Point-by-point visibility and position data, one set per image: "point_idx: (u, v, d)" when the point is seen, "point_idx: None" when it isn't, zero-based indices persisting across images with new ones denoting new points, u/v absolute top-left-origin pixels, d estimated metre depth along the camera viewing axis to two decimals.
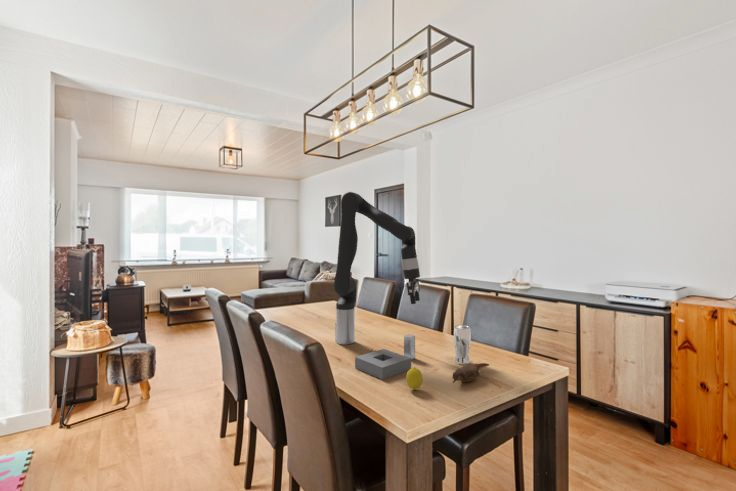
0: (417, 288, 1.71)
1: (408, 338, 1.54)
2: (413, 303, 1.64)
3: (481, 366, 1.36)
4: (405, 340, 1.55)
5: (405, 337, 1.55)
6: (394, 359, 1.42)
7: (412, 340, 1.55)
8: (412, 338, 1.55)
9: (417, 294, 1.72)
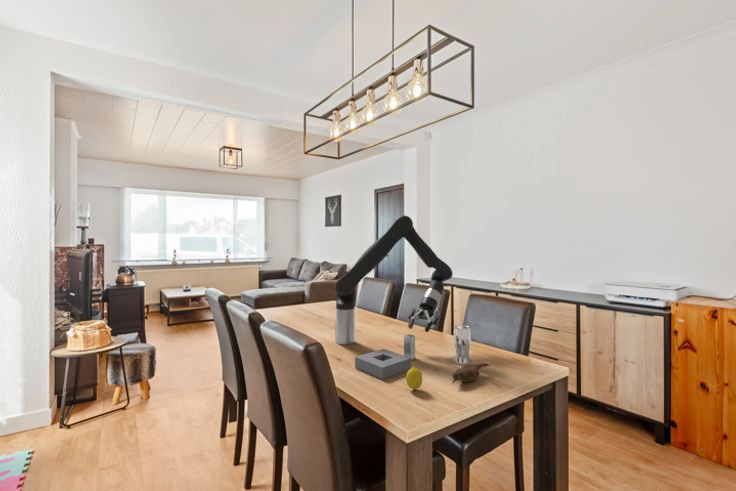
0: (418, 319, 1.67)
1: (408, 338, 1.54)
2: (426, 330, 1.59)
3: (481, 366, 1.36)
4: (405, 340, 1.55)
5: (405, 337, 1.55)
6: (394, 359, 1.42)
7: (412, 340, 1.55)
8: (412, 338, 1.55)
9: (413, 323, 1.66)
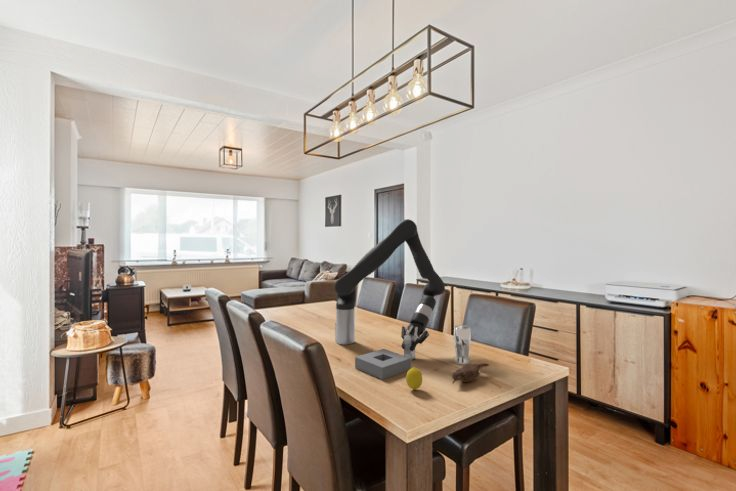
0: None
1: (408, 338, 1.54)
2: (411, 350, 1.53)
3: (481, 366, 1.36)
4: (405, 340, 1.55)
5: (405, 337, 1.55)
6: (394, 359, 1.42)
7: (412, 340, 1.55)
8: (412, 338, 1.55)
9: None
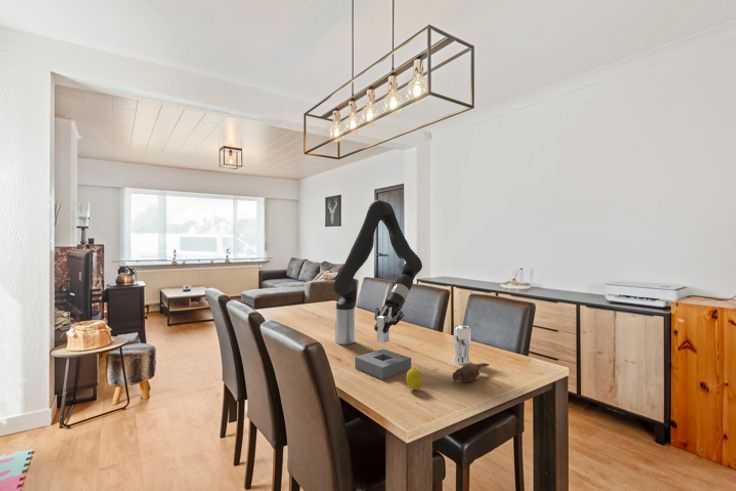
0: None
1: (381, 319, 1.42)
2: (384, 331, 1.41)
3: (481, 366, 1.36)
4: (378, 321, 1.43)
5: (378, 318, 1.43)
6: (394, 359, 1.42)
7: (385, 321, 1.43)
8: (385, 319, 1.43)
9: None
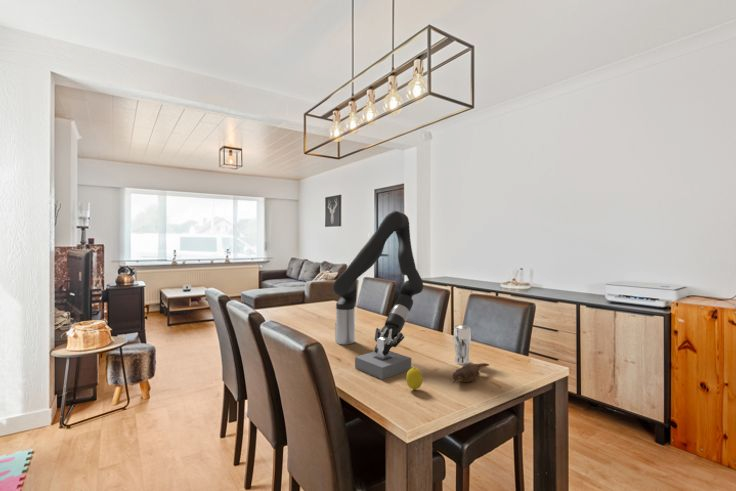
0: None
1: (381, 341, 1.42)
2: (385, 354, 1.41)
3: (481, 366, 1.36)
4: (378, 343, 1.43)
5: (378, 340, 1.43)
6: (394, 359, 1.42)
7: (385, 343, 1.43)
8: (385, 341, 1.43)
9: None
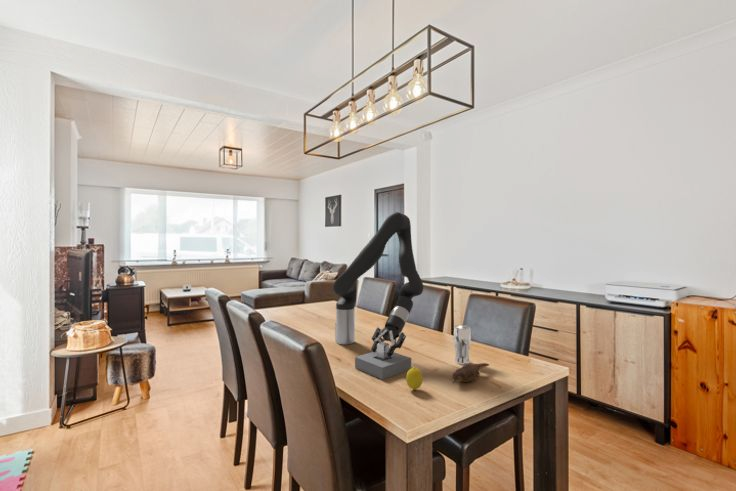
0: (383, 340, 1.49)
1: (381, 347, 1.42)
2: (389, 355, 1.41)
3: (481, 366, 1.36)
4: (378, 349, 1.43)
5: (378, 345, 1.43)
6: (394, 359, 1.42)
7: (385, 349, 1.43)
8: (385, 347, 1.43)
9: None
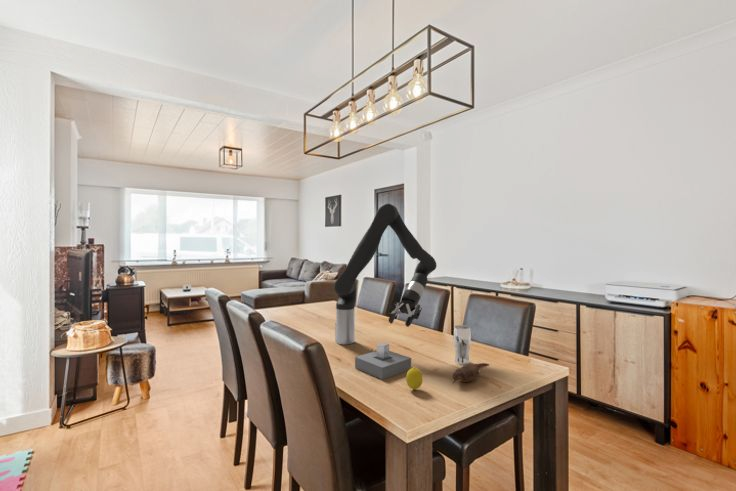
0: (399, 313, 1.58)
1: (381, 347, 1.42)
2: (407, 325, 1.50)
3: (481, 366, 1.36)
4: (378, 349, 1.43)
5: (378, 345, 1.43)
6: (394, 359, 1.42)
7: (385, 349, 1.43)
8: (385, 347, 1.43)
9: (394, 317, 1.57)
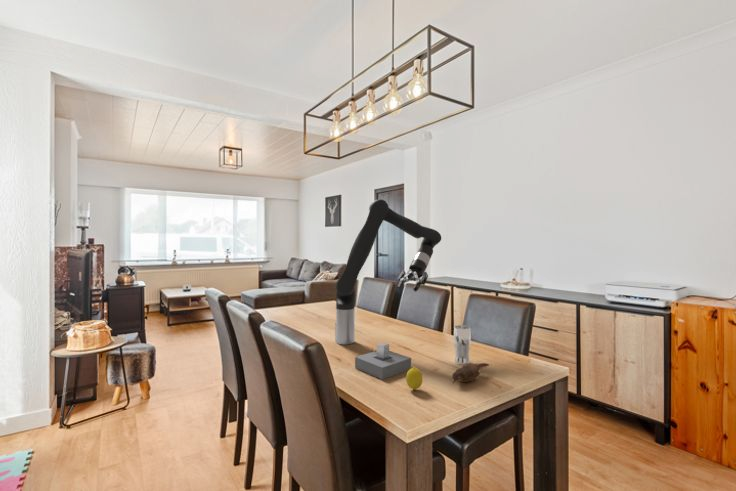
0: (408, 280, 1.72)
1: (381, 347, 1.42)
2: (415, 290, 1.63)
3: (481, 366, 1.36)
4: (378, 349, 1.43)
5: (378, 345, 1.43)
6: (394, 359, 1.42)
7: (385, 349, 1.43)
8: (385, 347, 1.43)
9: (402, 284, 1.70)
